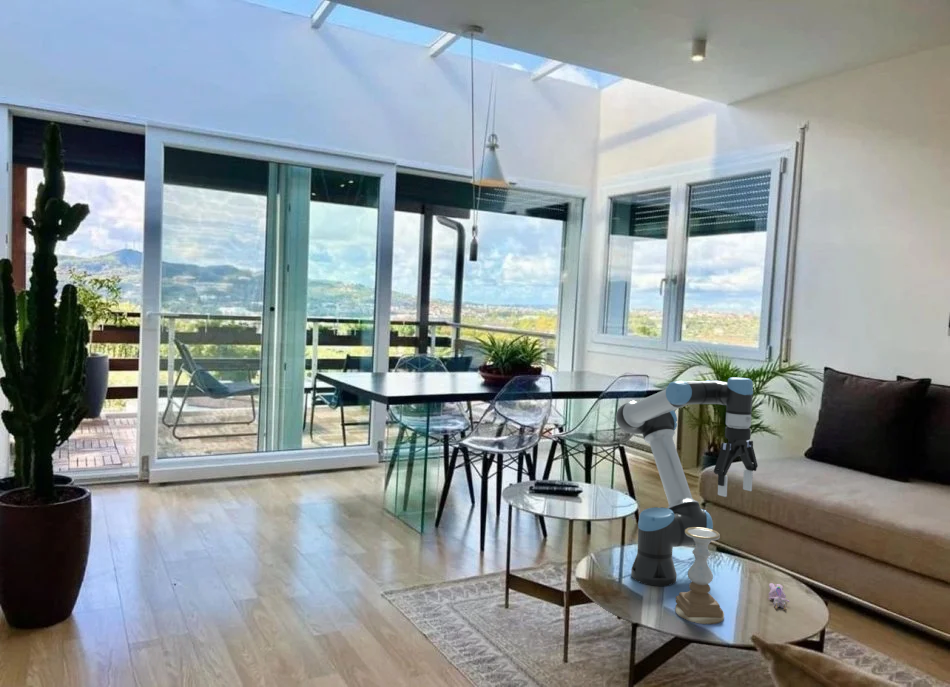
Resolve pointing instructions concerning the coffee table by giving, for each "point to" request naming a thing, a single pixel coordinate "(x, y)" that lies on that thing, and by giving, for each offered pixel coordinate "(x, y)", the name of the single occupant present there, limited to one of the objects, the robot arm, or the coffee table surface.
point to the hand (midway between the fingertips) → (734, 493)
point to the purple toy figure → (777, 596)
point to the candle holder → (700, 578)
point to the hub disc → (699, 618)
